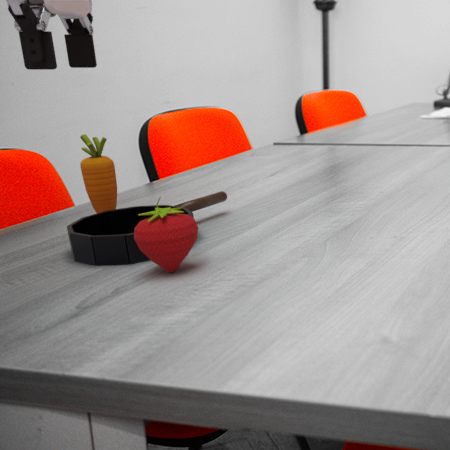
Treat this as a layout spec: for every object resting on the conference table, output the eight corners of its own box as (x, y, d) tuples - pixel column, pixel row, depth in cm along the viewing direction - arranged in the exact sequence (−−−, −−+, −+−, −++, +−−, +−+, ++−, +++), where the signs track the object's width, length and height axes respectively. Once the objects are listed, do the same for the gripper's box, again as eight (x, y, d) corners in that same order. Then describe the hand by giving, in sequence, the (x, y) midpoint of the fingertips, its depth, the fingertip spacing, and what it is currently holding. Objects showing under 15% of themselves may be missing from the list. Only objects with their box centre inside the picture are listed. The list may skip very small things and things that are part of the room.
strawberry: (209, 272, 72) (199, 195, 69) (145, 286, 68) (132, 205, 65) (196, 259, 77) (186, 186, 74) (136, 272, 73) (123, 195, 70)
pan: (127, 271, 73) (121, 241, 72) (47, 255, 80) (41, 227, 79) (264, 217, 96) (262, 194, 95) (193, 209, 103) (190, 186, 102)
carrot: (131, 223, 95) (115, 132, 91) (103, 231, 91) (85, 136, 87) (112, 219, 98) (97, 131, 93) (84, 227, 94) (67, 135, 89)
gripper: (45, -76, 71) (67, 67, 76) (-53, -115, 55) (-16, 70, 60) (106, -75, 72) (125, 67, 77) (28, -114, 55) (59, 70, 60)
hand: (63, 68), depth 68 cm, fingers open, 9 cm apart
